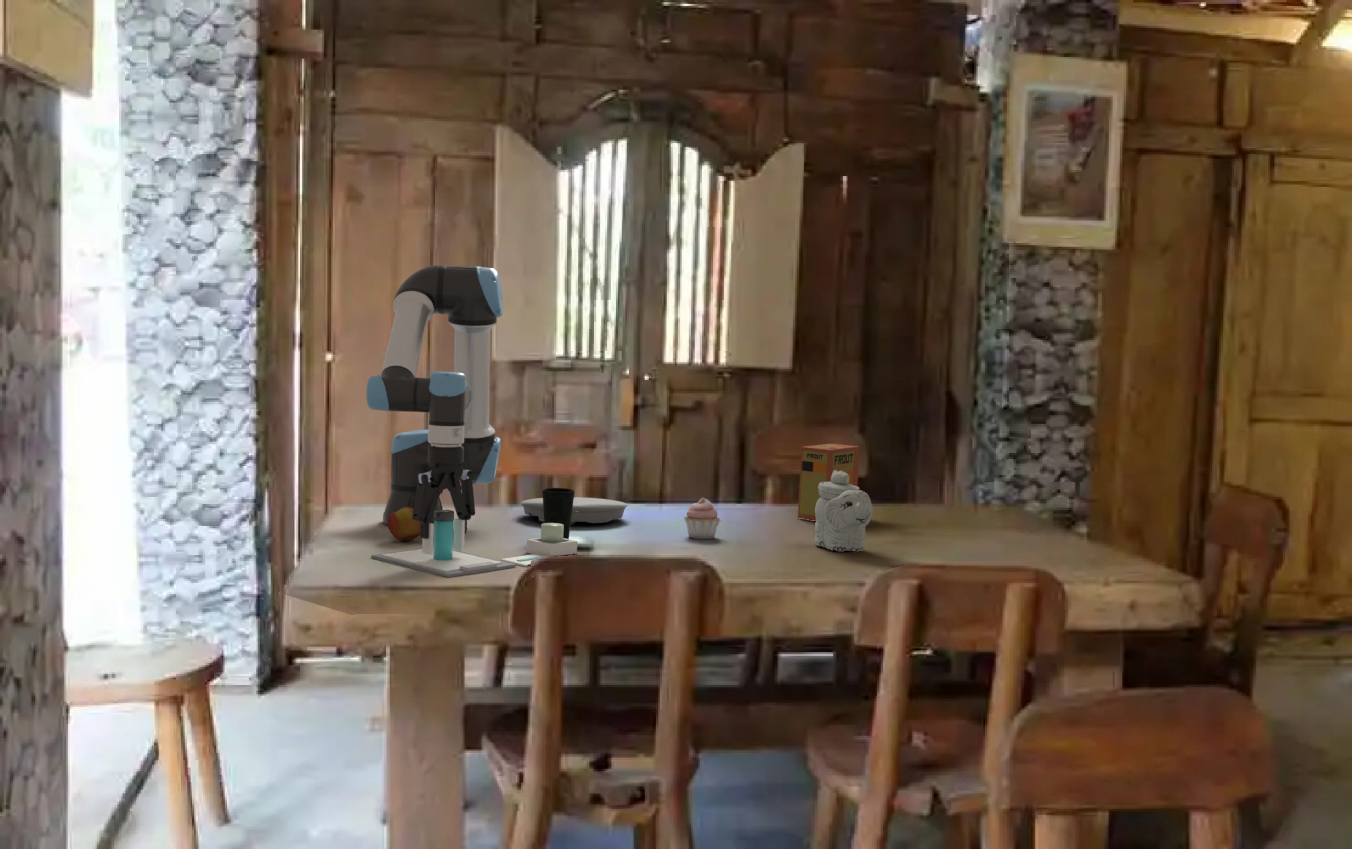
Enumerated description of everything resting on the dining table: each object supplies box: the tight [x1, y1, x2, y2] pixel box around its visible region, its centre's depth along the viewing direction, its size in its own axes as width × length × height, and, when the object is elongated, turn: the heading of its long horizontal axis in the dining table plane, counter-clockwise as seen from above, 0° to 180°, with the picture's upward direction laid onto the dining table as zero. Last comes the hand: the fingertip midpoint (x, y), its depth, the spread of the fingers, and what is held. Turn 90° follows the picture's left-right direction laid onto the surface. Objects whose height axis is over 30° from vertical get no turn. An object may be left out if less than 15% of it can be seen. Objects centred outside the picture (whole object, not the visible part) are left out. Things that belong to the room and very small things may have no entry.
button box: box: [525, 537, 578, 556], centre depth 299 cm, size 8×8×3 cm
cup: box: [541, 487, 575, 539], centre depth 316 cm, size 8×8×12 cm
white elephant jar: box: [814, 470, 874, 552], centre depth 319 cm, size 16×15×19 cm
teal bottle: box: [433, 509, 455, 561], centre depth 283 cm, size 4×4×10 cm
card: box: [500, 554, 544, 567], centre depth 289 cm, size 8×10×1 cm
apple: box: [387, 507, 420, 542], centre depth 306 cm, size 8×8×8 cm
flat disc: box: [520, 496, 629, 526], centre depth 348 cm, size 28×28×4 cm
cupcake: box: [683, 497, 722, 540], centre depth 328 cm, size 9×9×10 cm
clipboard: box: [370, 546, 517, 578], centre depth 283 cm, size 26×18×1 cm
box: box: [797, 443, 860, 520], centre depth 368 cm, size 17×9×20 cm, turn 144°
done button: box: [540, 522, 564, 543], centre depth 298 cm, size 5×5×4 cm
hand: (443, 551), depth 283 cm, fingers open, 8 cm apart
